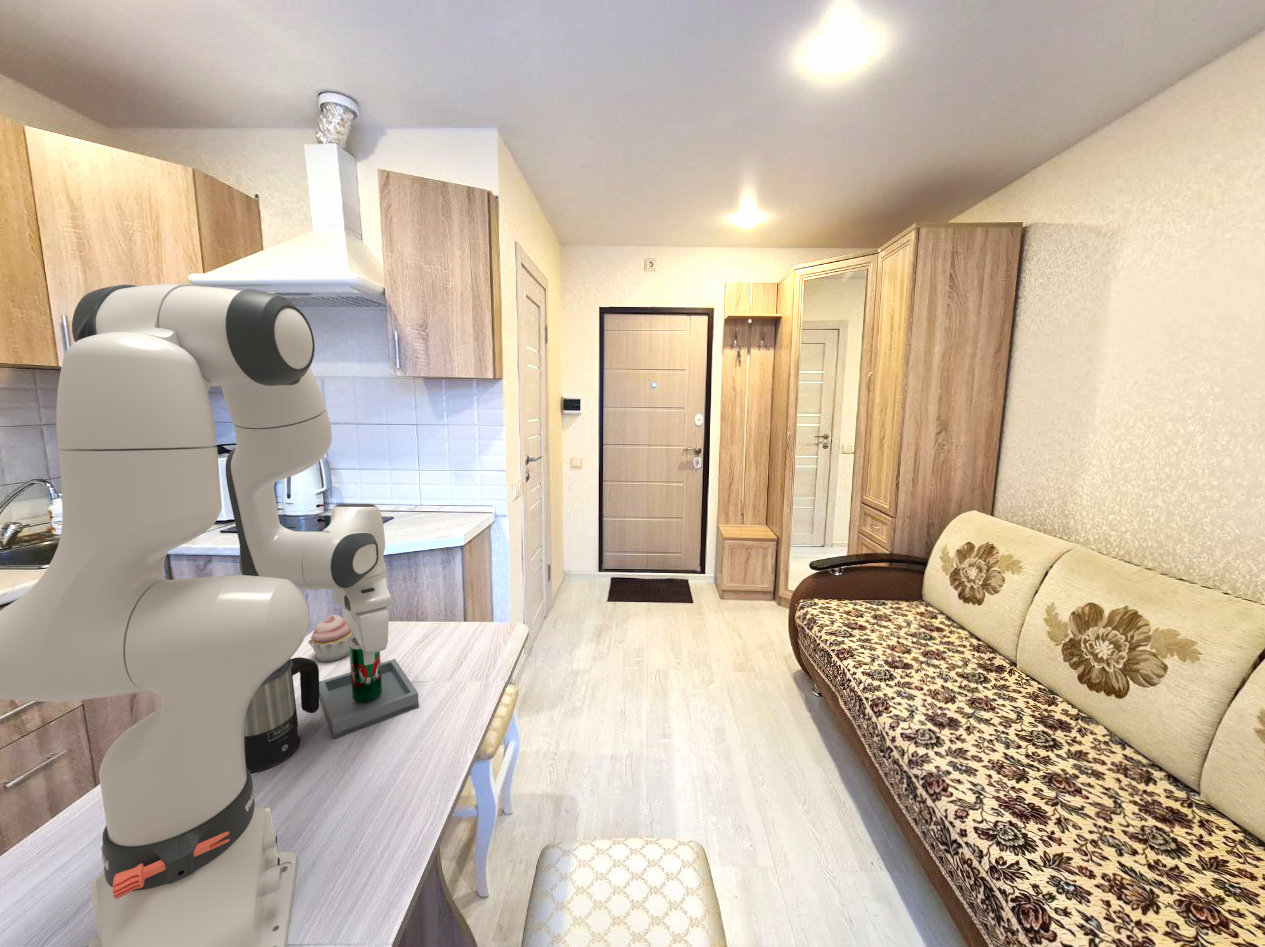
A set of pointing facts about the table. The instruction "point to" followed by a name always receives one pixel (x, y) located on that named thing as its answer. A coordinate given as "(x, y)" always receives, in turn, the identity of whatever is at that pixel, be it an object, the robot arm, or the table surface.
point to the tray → (356, 715)
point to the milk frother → (278, 714)
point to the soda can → (364, 675)
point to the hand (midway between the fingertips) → (365, 656)
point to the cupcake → (331, 639)
